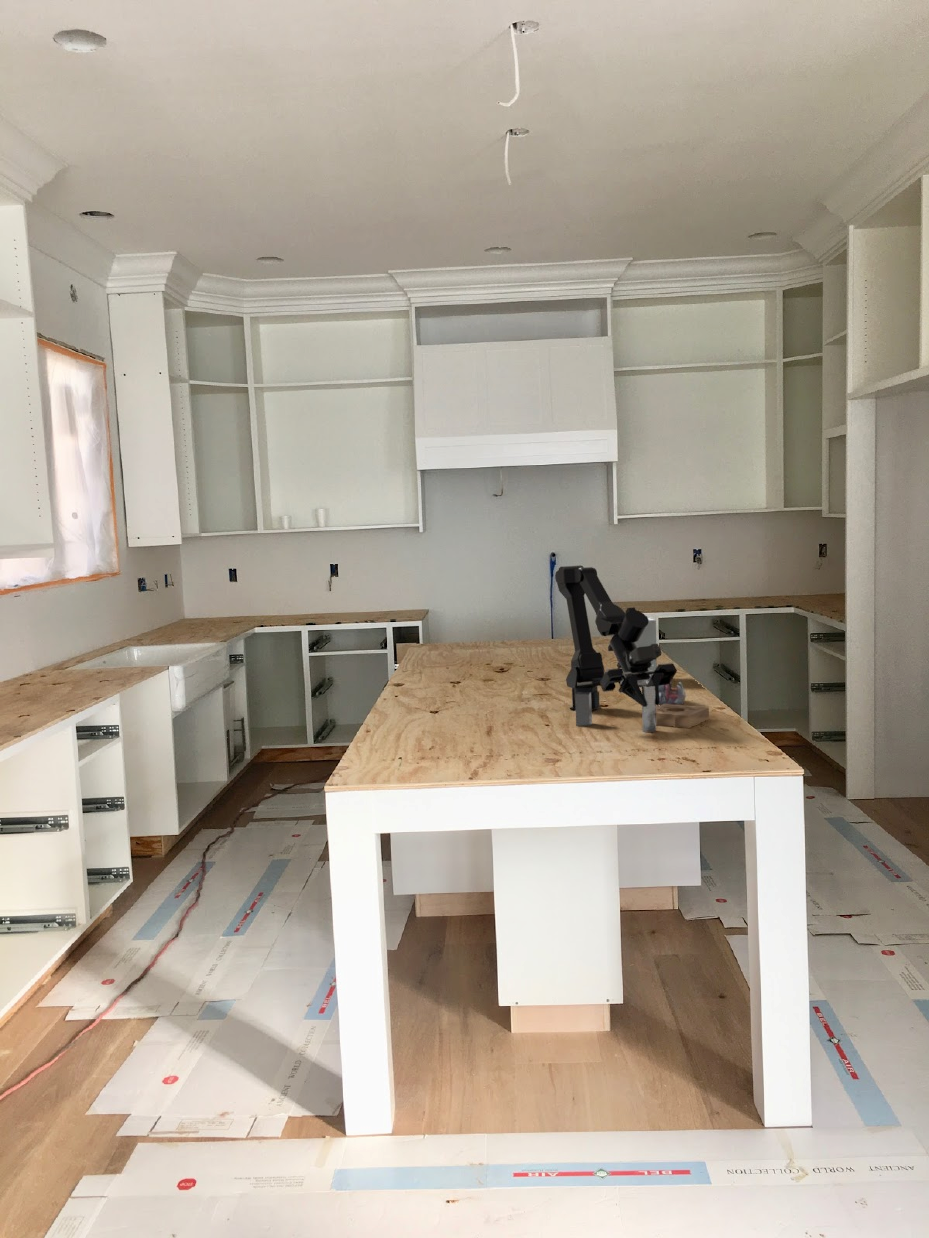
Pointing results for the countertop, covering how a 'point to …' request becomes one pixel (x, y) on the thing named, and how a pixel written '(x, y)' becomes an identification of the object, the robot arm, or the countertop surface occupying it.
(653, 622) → the hard drive box
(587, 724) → the square bit
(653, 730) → the round bit
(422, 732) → the countertop surface
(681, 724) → the bore block
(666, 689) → the brake caliper
